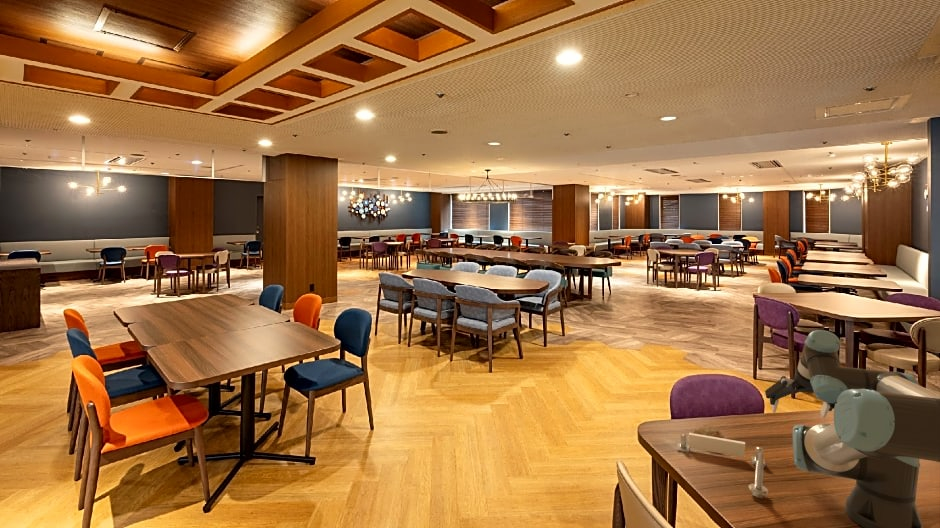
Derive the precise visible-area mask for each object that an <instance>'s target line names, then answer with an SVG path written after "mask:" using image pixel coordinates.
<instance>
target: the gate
mask: <svg viewBox="0 0 940 528" xmlns="http://www.w3.org/2000/svg"><path fill="white" fill-rule="evenodd" d="M687 445H688V447H689V449H696V450H701V451H707V452H711V453H716V454H722V455H728V456H734V457H738V458H745V457H746V456H745V455H746V442H745V441H740V440H734V439H728V438H724V439H723V438H717V437H711V436H706V435H700V434H694V432H689V433H688V443H687Z"/></svg>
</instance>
